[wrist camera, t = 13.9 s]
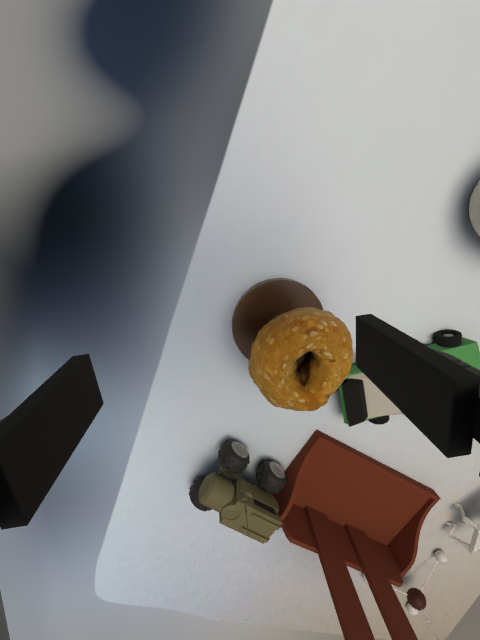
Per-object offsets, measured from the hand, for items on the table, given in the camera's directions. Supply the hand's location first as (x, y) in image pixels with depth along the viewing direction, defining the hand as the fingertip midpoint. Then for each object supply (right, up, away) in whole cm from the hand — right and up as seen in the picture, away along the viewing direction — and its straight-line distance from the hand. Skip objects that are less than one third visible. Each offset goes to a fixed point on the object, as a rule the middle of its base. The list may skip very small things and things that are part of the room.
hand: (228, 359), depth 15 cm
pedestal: (+6, +2, +26) cm, 26 cm away
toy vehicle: (0, -21, +32) cm, 39 cm away
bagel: (+6, -1, +16) cm, 17 cm away
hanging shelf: (+19, -26, +35) cm, 47 cm away
